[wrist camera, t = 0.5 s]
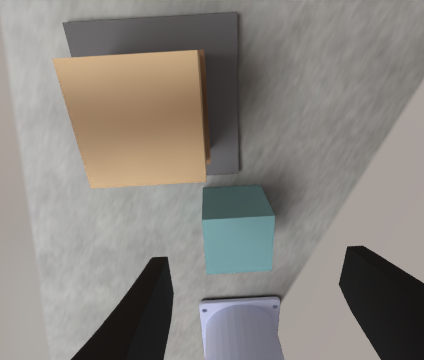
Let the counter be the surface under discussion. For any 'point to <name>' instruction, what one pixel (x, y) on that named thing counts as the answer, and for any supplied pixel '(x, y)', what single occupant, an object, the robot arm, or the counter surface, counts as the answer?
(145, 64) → the oak top block
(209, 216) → the teal block
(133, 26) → the coaster mat
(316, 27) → the counter surface
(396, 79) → the counter surface
